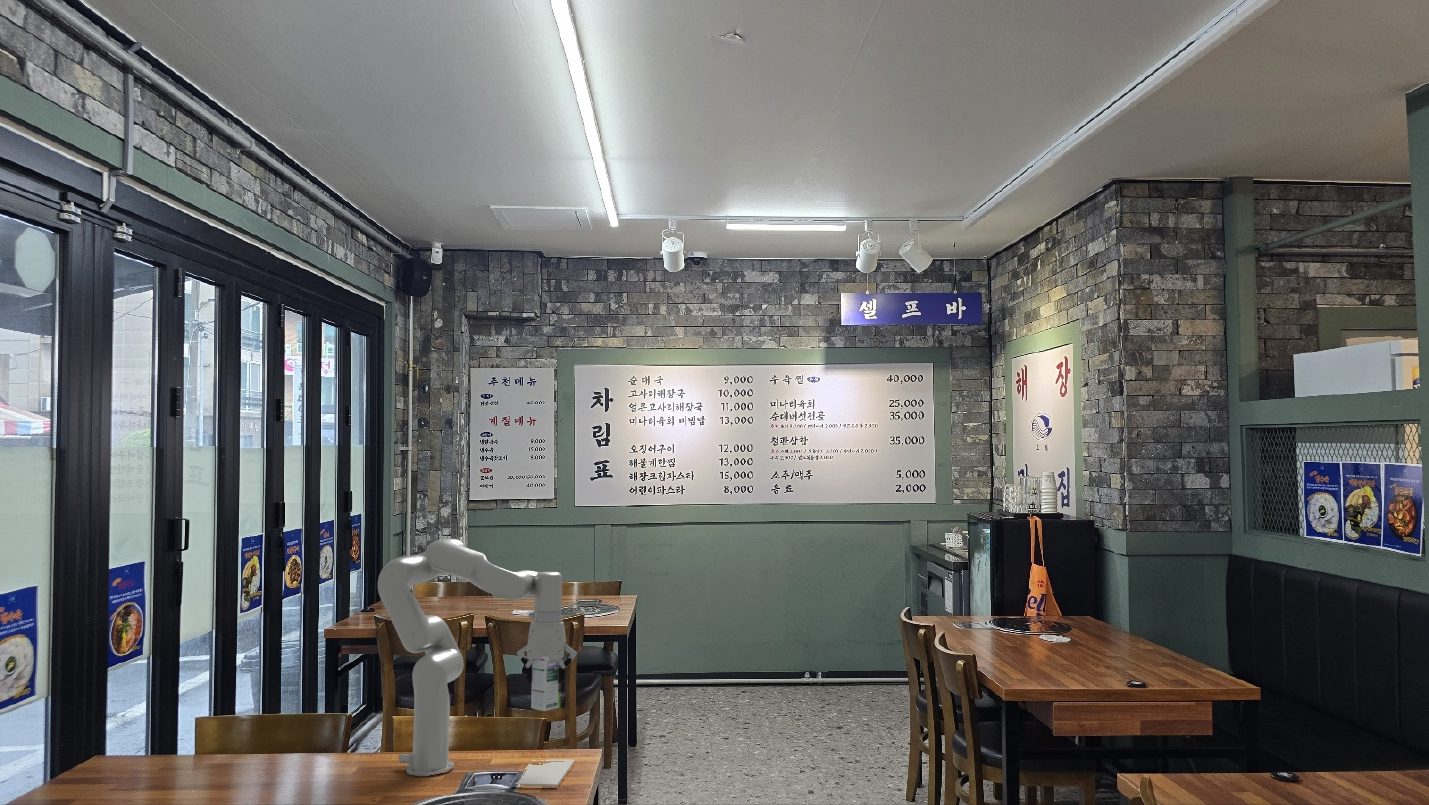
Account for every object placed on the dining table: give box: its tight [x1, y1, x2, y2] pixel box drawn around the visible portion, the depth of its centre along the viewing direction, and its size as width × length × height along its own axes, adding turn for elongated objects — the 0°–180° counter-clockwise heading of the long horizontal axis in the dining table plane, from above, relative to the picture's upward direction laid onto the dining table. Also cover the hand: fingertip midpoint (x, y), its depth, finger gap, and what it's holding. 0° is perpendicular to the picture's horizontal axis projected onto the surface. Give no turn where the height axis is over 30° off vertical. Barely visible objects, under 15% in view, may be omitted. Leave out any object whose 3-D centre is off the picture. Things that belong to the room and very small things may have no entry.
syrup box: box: [530, 656, 561, 712], centre depth 243 cm, size 6×6×14 cm
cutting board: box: [515, 758, 576, 786], centre depth 241 cm, size 12×22×1 cm, turn 177°
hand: (546, 682), depth 243 cm, fingers closed on syrup box, 7 cm apart
